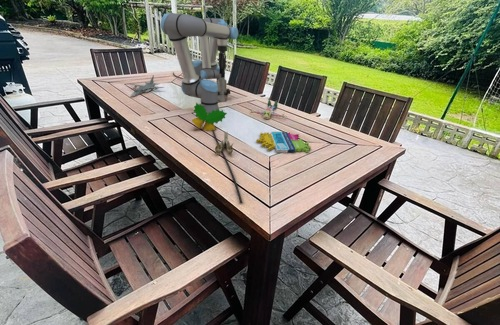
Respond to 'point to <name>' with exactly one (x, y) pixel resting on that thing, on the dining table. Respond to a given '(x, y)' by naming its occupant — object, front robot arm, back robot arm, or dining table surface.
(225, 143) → the jawbone
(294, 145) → the sign
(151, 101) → the dining table surface
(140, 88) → the airplane
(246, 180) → the dining table surface
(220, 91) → the bottle
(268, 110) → the toy
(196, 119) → the ornament
